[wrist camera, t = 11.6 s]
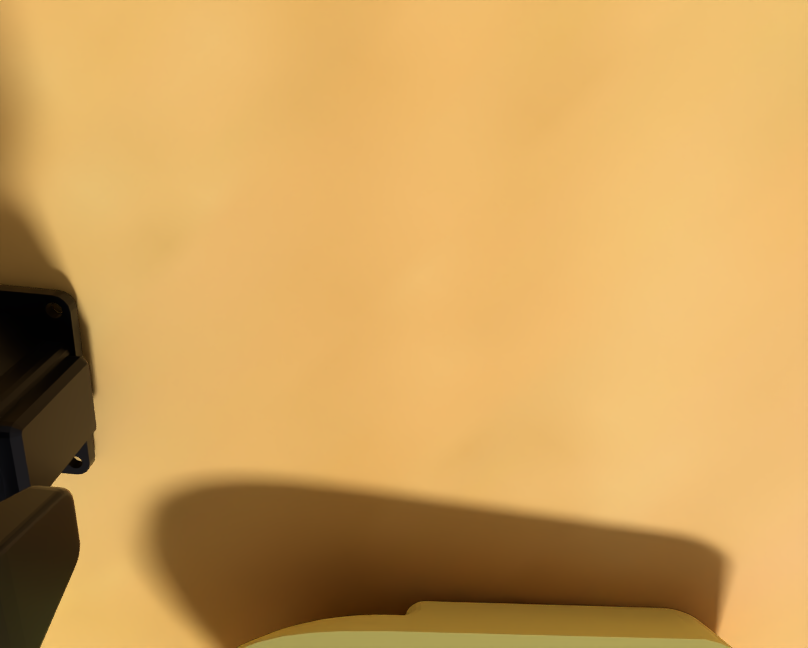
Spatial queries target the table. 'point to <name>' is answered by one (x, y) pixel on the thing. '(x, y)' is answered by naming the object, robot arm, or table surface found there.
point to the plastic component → (501, 628)
